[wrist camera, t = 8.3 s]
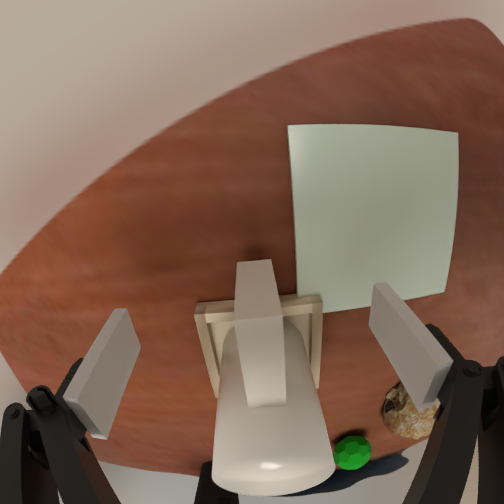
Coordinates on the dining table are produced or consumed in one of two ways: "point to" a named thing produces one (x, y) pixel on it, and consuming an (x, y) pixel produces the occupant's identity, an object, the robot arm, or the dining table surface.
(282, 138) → the dining table surface
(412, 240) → the plate
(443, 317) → the dining table surface
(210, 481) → the drinking cup
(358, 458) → the polyhedron
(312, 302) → the holder
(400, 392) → the bread roll
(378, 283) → the robot arm
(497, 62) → the dining table surface
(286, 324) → the white cylinder with tab
